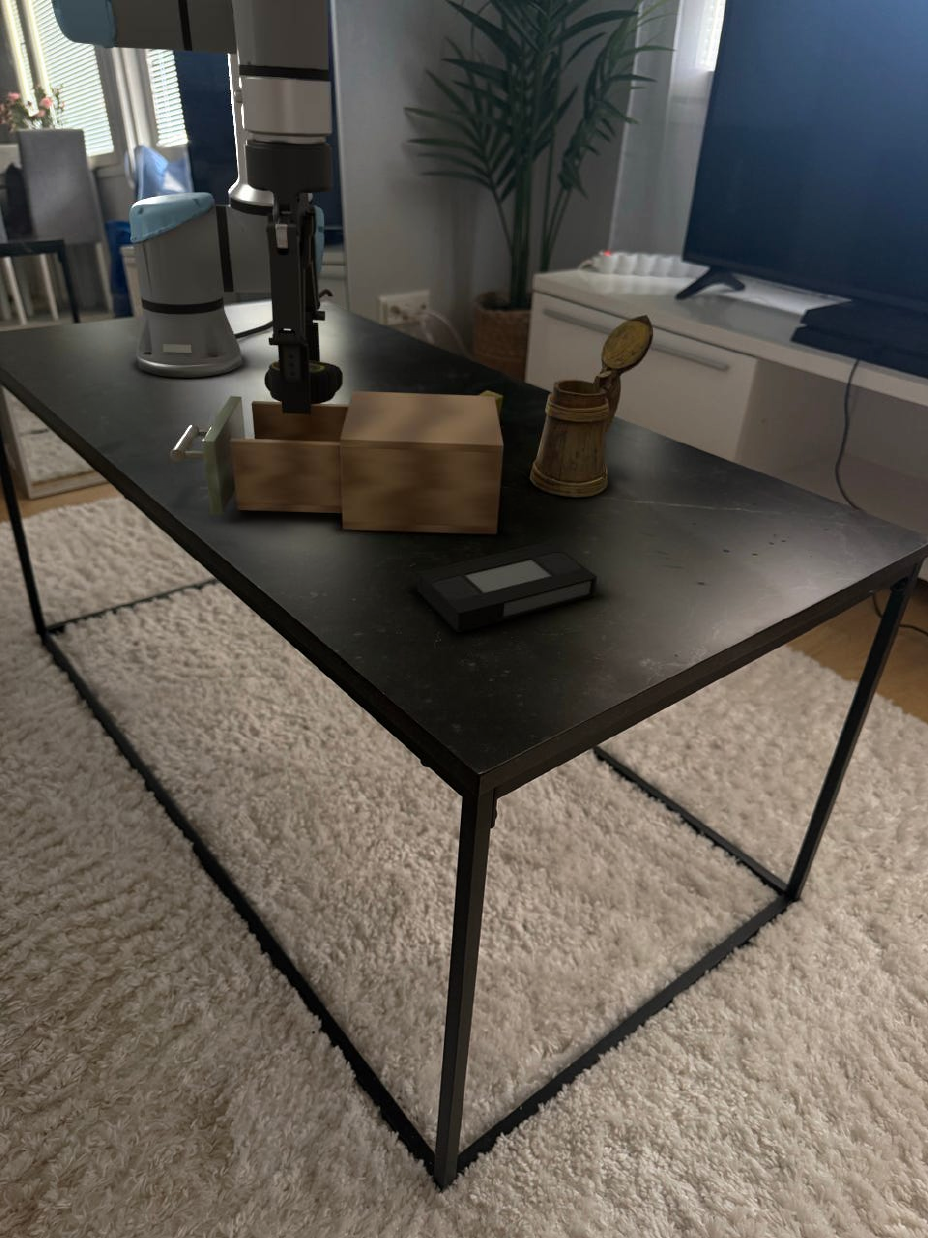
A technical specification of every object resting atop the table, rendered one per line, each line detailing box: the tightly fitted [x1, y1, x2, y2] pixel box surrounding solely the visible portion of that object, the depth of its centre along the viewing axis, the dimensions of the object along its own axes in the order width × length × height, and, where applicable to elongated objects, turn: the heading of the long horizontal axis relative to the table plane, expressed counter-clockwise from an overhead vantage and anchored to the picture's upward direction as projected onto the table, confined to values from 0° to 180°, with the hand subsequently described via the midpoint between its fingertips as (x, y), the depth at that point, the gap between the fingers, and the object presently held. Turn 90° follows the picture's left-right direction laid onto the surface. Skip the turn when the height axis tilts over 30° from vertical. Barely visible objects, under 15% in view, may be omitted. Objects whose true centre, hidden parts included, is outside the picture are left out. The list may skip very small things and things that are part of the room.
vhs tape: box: [417, 541, 598, 633], centre depth 75 cm, size 8×14×2 cm, turn 120°
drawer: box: [169, 395, 349, 516], centre depth 88 cm, size 19×13×8 cm
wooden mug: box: [529, 314, 654, 498], centre depth 94 cm, size 9×14×18 cm, turn 126°
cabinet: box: [340, 390, 505, 535], centre depth 88 cm, size 16×15×10 cm
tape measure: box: [263, 359, 344, 405], centre depth 83 cm, size 7×7×4 cm
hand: (302, 398), depth 84 cm, fingers closed on tape measure, 7 cm apart
